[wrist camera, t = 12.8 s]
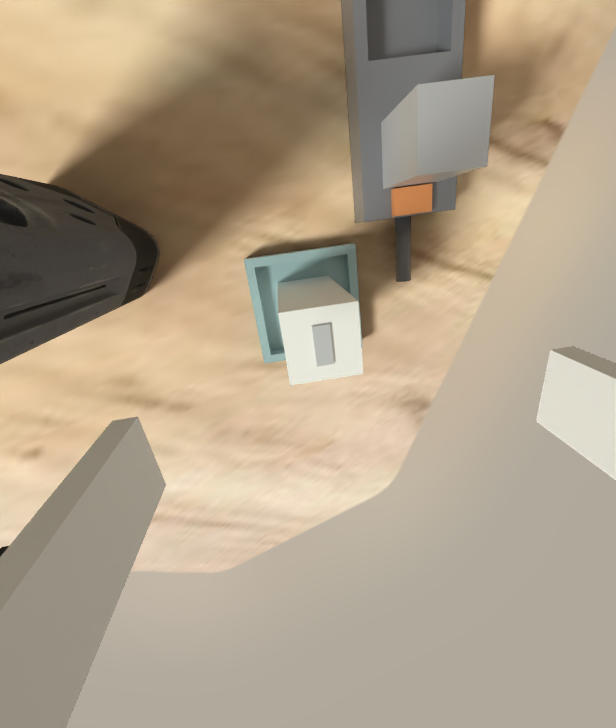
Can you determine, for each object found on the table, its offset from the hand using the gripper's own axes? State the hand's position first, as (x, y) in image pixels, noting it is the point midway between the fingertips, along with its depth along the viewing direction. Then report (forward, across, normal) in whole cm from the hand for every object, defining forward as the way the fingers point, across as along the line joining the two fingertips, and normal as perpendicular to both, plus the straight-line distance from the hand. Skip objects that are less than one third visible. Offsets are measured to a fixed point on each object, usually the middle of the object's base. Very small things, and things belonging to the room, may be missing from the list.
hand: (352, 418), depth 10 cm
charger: (+19, 0, -1) cm, 19 cm away
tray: (+20, 0, -1) cm, 20 cm away
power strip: (+20, +9, +12) cm, 25 cm away
